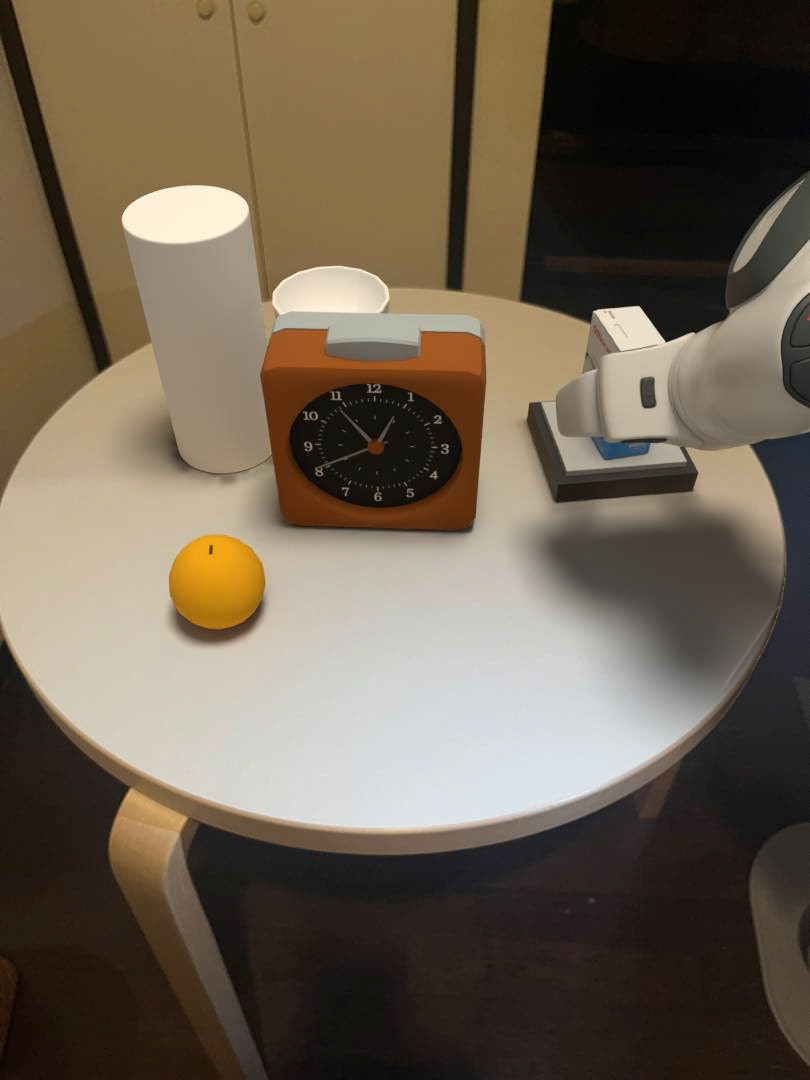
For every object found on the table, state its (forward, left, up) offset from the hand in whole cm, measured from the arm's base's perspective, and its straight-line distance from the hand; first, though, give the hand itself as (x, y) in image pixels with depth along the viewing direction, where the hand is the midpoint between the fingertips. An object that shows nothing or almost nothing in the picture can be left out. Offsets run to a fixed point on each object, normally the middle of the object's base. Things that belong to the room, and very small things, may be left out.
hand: (651, 413), depth 77 cm
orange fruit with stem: (+39, +9, -11) cm, 42 cm away
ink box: (0, -7, -8) cm, 11 cm away
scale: (0, -7, -11) cm, 13 cm away
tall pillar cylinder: (+39, -14, -11) cm, 43 cm away
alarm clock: (+24, -3, -11) cm, 27 cm away
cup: (+27, -23, -11) cm, 37 cm away
